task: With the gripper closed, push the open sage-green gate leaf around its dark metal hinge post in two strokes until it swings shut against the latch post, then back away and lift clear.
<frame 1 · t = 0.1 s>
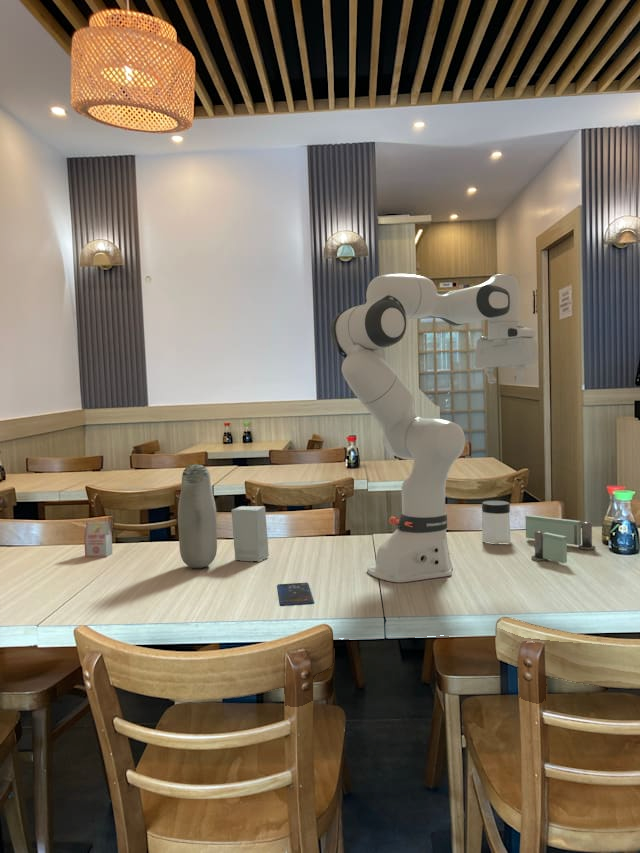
hand: (504, 382, 174), 48 cm above the table, tool pointing down, fingers open, 8 cm apart
latch post: (540, 559, 166), on the table
gate: (552, 529, 183), point 4 cm above the table, hinge at -75.0°
skincare box: (251, 560, 174), on the table
hinge post: (587, 548, 176), on the table
fence panel: (554, 563, 162), on the table
smartphone: (295, 596, 142), on the table
grey tall rounded cylinder: (199, 567, 168), on the table
white printed carton: (99, 556, 184), on the table
jar: (496, 542, 187), on the table
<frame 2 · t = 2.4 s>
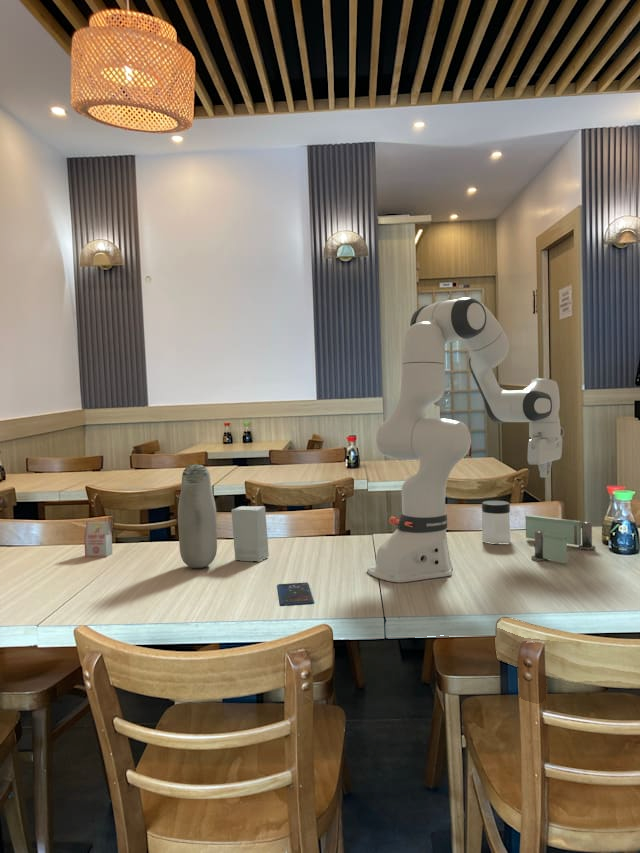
hand: (545, 476, 189), 19 cm above the table, tool pointing down, fingers closed
nothing on the table moved.
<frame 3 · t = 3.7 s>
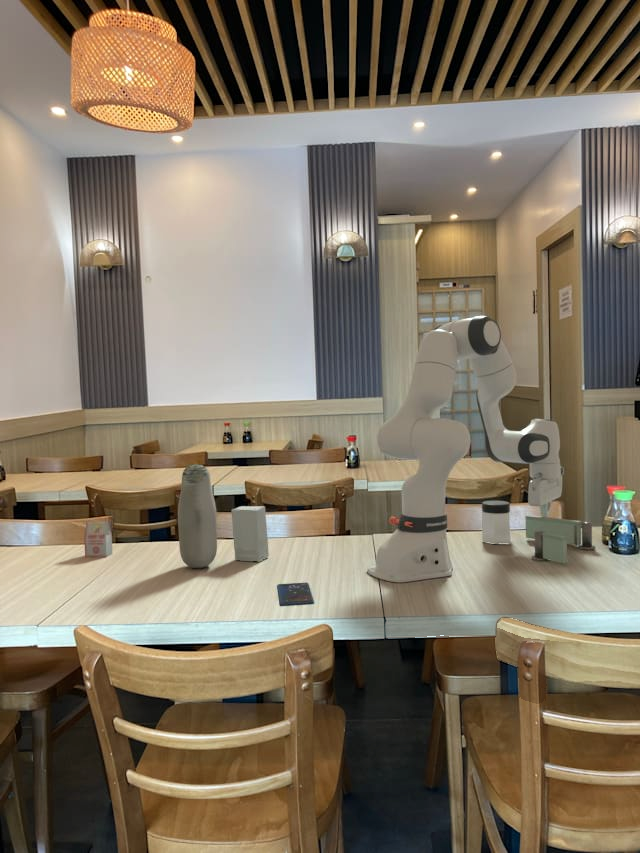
hand: (545, 516, 189), 7 cm above the table, tool pointing down, fingers closed
nothing on the table moved.
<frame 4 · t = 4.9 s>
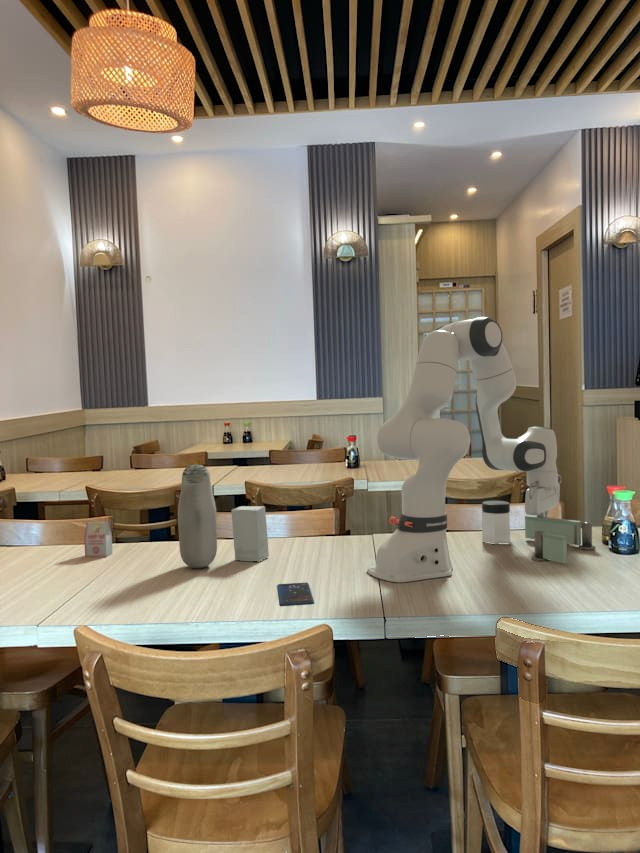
hand: (542, 524, 187), 5 cm above the table, tool pointing down, fingers closed
gate: (552, 529, 183), point 4 cm above the table, hinge at -73.8°, touching gripper
everything else where it was.
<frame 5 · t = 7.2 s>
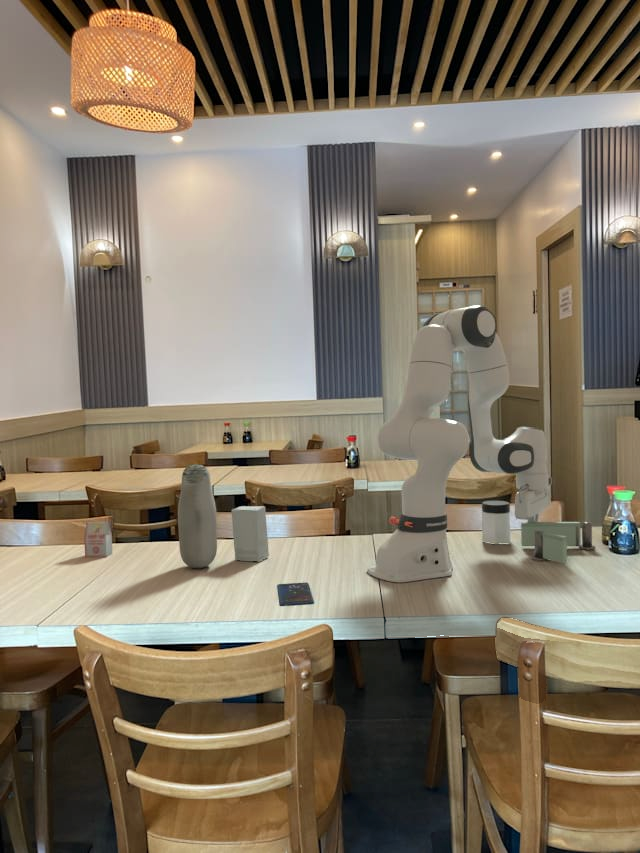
hand: (533, 528, 180), 5 cm above the table, tool pointing down, fingers closed
gate: (550, 534, 177), point 4 cm above the table, hinge at -38.0°, touching gripper
everything else where it was.
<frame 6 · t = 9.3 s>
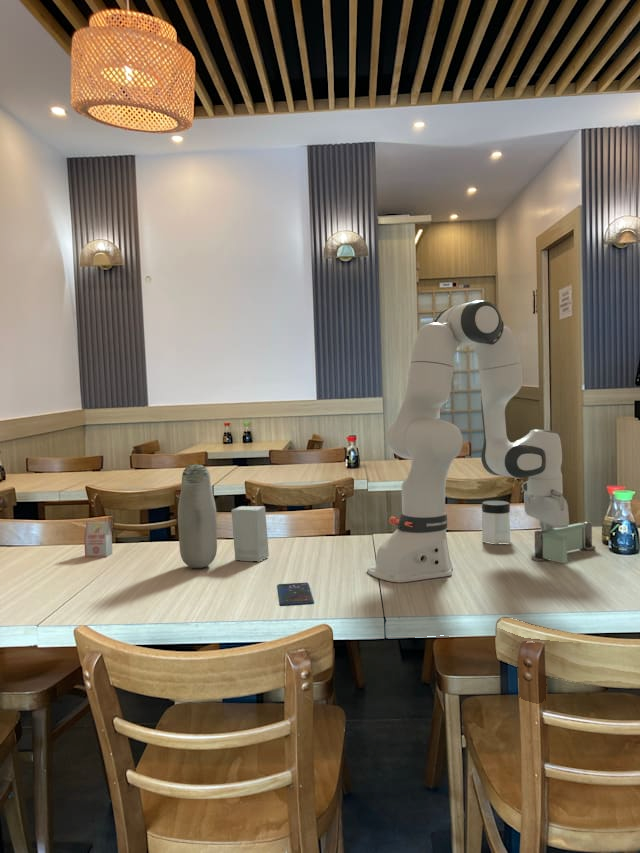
hand: (546, 537, 171), 5 cm above the table, tool pointing down, fingers closed
gate: (564, 539, 171), point 4 cm above the table, hinge at 0.4°, touching gripper
everything else where it was.
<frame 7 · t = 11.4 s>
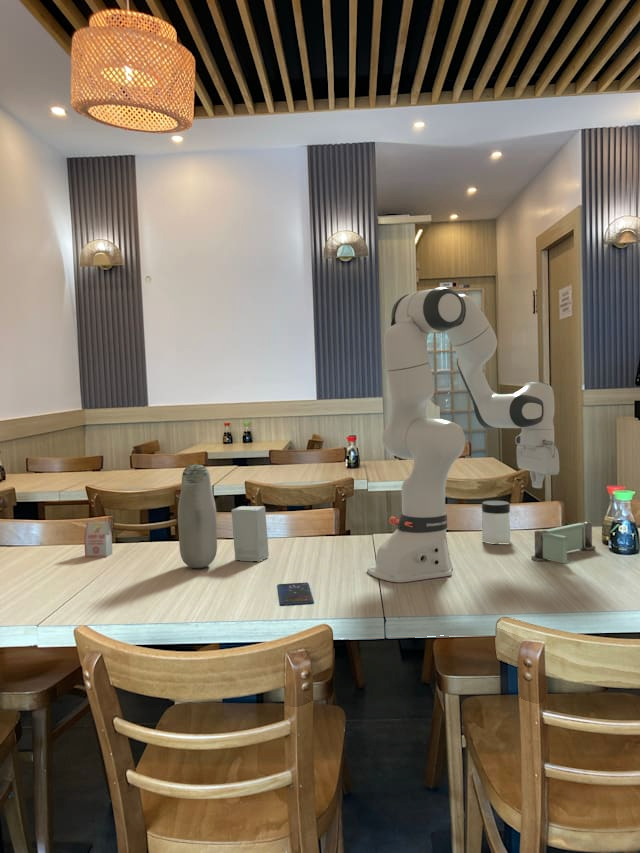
hand: (537, 487, 176), 18 cm above the table, tool pointing down, fingers closed
gate: (564, 539, 171), point 4 cm above the table, hinge at 0.7°
everything else where it was.
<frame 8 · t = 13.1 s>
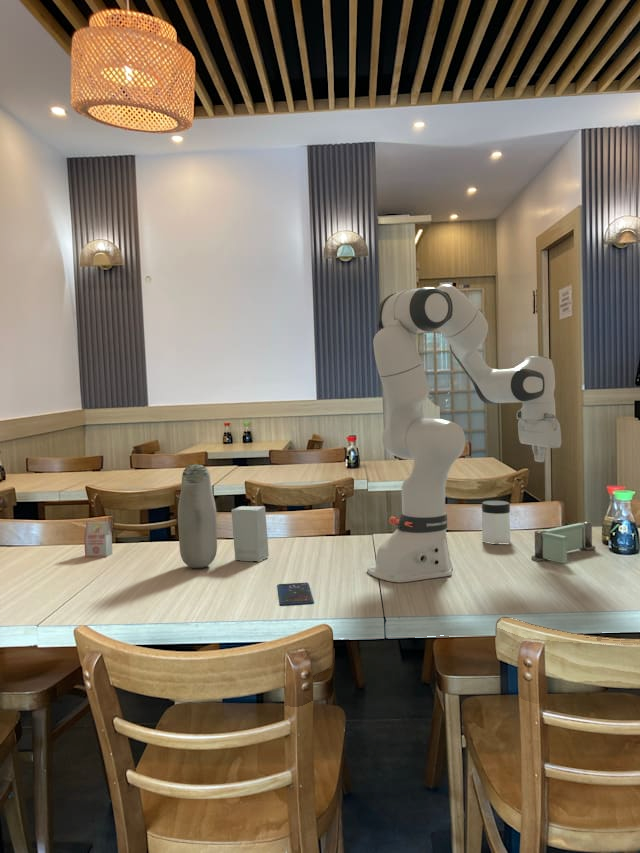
hand: (539, 461, 177), 25 cm above the table, tool pointing down, fingers closed
nothing on the table moved.
at the end: gate at +1° (first picture: -75°); gate touching nothing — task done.
